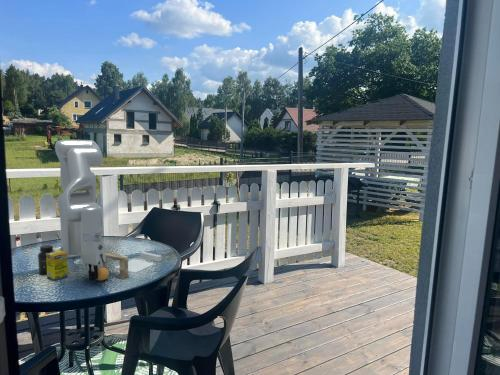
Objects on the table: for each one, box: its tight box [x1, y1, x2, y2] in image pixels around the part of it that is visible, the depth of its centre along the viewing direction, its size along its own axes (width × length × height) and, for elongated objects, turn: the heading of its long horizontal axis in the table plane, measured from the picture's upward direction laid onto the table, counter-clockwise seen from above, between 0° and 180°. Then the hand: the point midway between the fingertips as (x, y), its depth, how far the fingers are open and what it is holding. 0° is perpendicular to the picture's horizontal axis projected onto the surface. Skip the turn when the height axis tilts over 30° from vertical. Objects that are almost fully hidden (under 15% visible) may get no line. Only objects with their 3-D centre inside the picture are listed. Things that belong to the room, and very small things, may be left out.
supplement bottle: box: [37, 244, 54, 276], centre depth 163 cm, size 7×7×12 cm
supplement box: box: [46, 250, 69, 282], centre depth 159 cm, size 6×6×11 cm
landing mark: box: [113, 258, 155, 274], centre depth 176 cm, size 13×13×1 cm
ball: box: [96, 267, 110, 282], centre depth 157 cm, size 6×6×6 cm
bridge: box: [103, 250, 129, 280], centre depth 163 cm, size 3×14×9 cm, turn 63°
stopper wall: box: [139, 251, 163, 263], centre depth 185 cm, size 2×12×2 cm, turn 63°
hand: (93, 279), depth 154 cm, fingers closed
